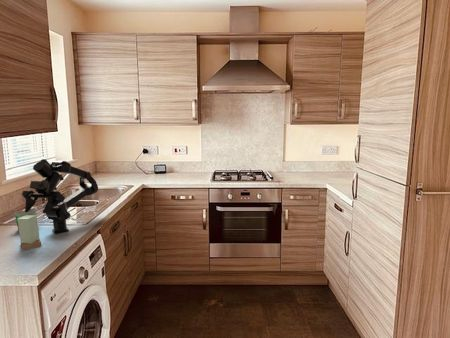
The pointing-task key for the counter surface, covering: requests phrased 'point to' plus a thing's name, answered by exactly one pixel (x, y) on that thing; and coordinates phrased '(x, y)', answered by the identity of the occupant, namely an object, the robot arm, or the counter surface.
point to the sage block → (28, 229)
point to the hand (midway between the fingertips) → (34, 212)
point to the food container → (24, 213)
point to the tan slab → (31, 245)
